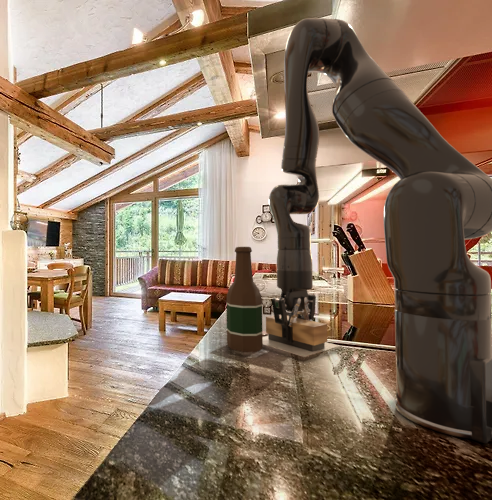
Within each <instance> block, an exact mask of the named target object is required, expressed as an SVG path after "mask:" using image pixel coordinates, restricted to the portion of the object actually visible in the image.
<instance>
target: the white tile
mask: <svg viewBox="0 0 492 500" xmlns="http://www.w3.org/2000/svg"><path fill="white" fill-rule="evenodd" d="M262 346H267V347H270V348H274V349H276V350H279V351H284V352H285V353H286V352H287V353H290V354H293V355H296V356H299V357H303V358H306V357H309V356H312V355H316V354H319V353H322V352H325V351H328V350H331V349H335V348H338V347H340V345H339V344H334V343H331V342H328V341H327V342H325V348H323V349H320V350H317V351H313V352H312V351H308V350H304V349H301V348H297V347H294V346H290V345H287V344H283V343H280V342H276V341H273V340H269V339H268V335H264V336H263V345H262Z"/></svg>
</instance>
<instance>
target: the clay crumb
mask: <svg viewBox="0 0 492 500" xmlns="http://www.w3.org/2000/svg"><path fill="white" fill-rule="evenodd" d="M262 336H263V337H265V336H268V333H266V330H262Z"/></svg>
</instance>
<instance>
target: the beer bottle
mask: <svg viewBox="0 0 492 500" xmlns="http://www.w3.org/2000/svg"><path fill="white" fill-rule="evenodd" d="M234 252H235V266H234V267H235V268H234V270H235V271H234V278H233V282H232V283H231V285H230V287H229V288H228V291H227V293H226V345H227V346H228V347H229V349H230V350H234V351H237V352H241V353H257V352H260V351H261V350H263V346H264V345H263V337H264V336H262V331H263V300H262V293H261V292H260V289H259V287H258V286H257V285H256V283H255V282H254V277H253V267H252V255H251V254H252V252H253V250H252V247H251V246H236V247H235V249H234Z"/></svg>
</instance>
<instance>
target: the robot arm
mask: <svg viewBox="0 0 492 500" xmlns="http://www.w3.org/2000/svg"><path fill="white" fill-rule="evenodd" d="M309 73H317V74H322V75H325V76H326V77H328V79H330V81H331V82H332V83H333V85H334V86H335V87H336V88H335V90H334V94H333V98H332V103H331V114H332V116H333V118H334V120H335V122H336V124H337V125H338V127H339V128H340V130H341V131H342V133H343V134H344V136H345V137H346V138H347V140H348V141H349V142H350V143H351V144H352V145H353V146H354V147H356V148H357V149H359V150H360V151H361V152H363V153H365V154H366V155H367V156H368V157H370V158H372V160H375V161H376V162H378V163H380V164H381V165H383V166H384V167H386V168H387V169H389V170H390V171H391V172H392V173H394V174H395V175H396V176H397V177H398V179H399V180H398V181H397V182H396V183H394V185H393V186H392V187H391V188H390V190H389V191H388V193H387V195H386V197H385V201H384V206H383V217H382V219H383V233H384V245H385V258H386V264H387V267H388V270H389V272H390V273H391V277H392V279H393V286H394V287H393V288H394V289H393V290H394V292H393V293H394V294H393V295H394V344H395V346H394V347H395V348H394V349H395V385H396V386H395V397H396V398H395V409H396V411H397V412H398V413H399V414H400V415H402V416H403V417H404V418H406V419H408V420H410V421H411V422H413V423H415V424H417V425H420V426H422V427H424V428H427V429H430V430H433V431H435V432H437V433H442V434H445V435H449V436H453V437H457V438H464V439H469V440H474V441H476V442H478V443H482V444H486V445H487V444H488V443H489V442H490V441H491V440H492V280H491V275H490V274H489V272H488V271H487V270H485V269H483V268H481V267H480V266H478V265H476V264H475V263H474V262H473V261H472V260H471V259H470V257H469V255H468V253H467V248H466V241H467V240H473V239H478V238H481V237H483V236H486V235H488V234H490V233H491V232H492V177H491V176H489V174H487V173H486V172H484V171H483V170H482V169H481V168H479V167H478V166H477V165H475V164H474V163H473V162H472V161H470V160H469V159H468V158H467V157H466V156H464V155H463V154H462V153H461V152H459V150H457V149H456V148H455V147H454V146H452V144H450V143H449V141H447V140H446V139H445V138H444V137H443V136H442V135H441V134H440V132H439V131H438V130H437V129H436V127H435V126H434V125H433V124H432V123H431V122H430V120H429V119H428V118H427V117H426V116H425V115H424V114H423V112H421V110H420V109H419V108H418V107H417V106H416V105H415V103H414V102H413V101H412V99H410V97H409V96H408V95H407V94H406V92H405V91H404V90H403V89H402V88H401V87H400V85H398V84H397V83H396V82H395V80H393V78H392V77H390V76H389V74H387V73H386V71H384V69H383V68H382V67H381V66H380V65H379V64H378V62H376V60H375V59H374V58H373V57H371V55H370V54H369V53H368V51H367V50H366V49H365V47H364V45H363V44H362V42H361V39H360V38H359V37H358V35H357V34H356V32H355V30H354V28H353V27H352V26H351V24H350V23H348V21H346V20H343V19H339V18H325V17H324V18H323V17H322V18H321V17H309V18H303V19H301V20H299V21H297V23H296V24H295V25H294V26H293V28H292V29H291V31H290V32H289V35H288V38H287V39H286V44H285V49H284V59H283V75H284V76H283V78H284V79H283V80H284V82H283V83H284V109H285V110H284V111H285V129H284V140H283V147H282V155H281V156H282V157H281V164H280V165H281V167H280V169H281V172H283V173H285V174H289V175H294V176H296V178H297V179H298V183H297V184H278V185H275V186H274V187H273V188H272V190H271V191H270V193H269V197H268V205H269V211H270V212H271V215H272V218H273V221H274V225H275V229H276V235H277V253H276V287H277V288H278V289H280V290H281V293H280V296H279V297H278V298H274V297H273V298H272V299H271V305H272V311H273V316H274V318H275V323H278V324H280V325H281V326H282V340H283V341H284V342H287V343H292V342H293V327H292V325H293V321H294V318H299V319H304V320H309V321H314V318H315V312H316V311H315V310H316V302H317V301H316V300H317V296H316V295H315V294H309V293H308V291H309V290H312V289H313V287H314V285H313V256H312V248H311V247H312V246H311V239H312V238H311V228H310V227H309V225H307V224H304V223H300V222H299V223H298V222H296V221H294V219H293V218H292V216H291V215H308V214H311V213H313V212H314V211H315V209H316V208H317V207H318V204H319V202H320V191H319V185H318V175H317V165H316V164H317V157H318V151H319V145H320V127H319V122H318V119H317V117H316V114H315V112H314V109H313V107H312V103H311V100H310V96H309V90H308V76H309ZM279 315H281V319H280V317H279ZM287 316H289V320H287Z"/></svg>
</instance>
